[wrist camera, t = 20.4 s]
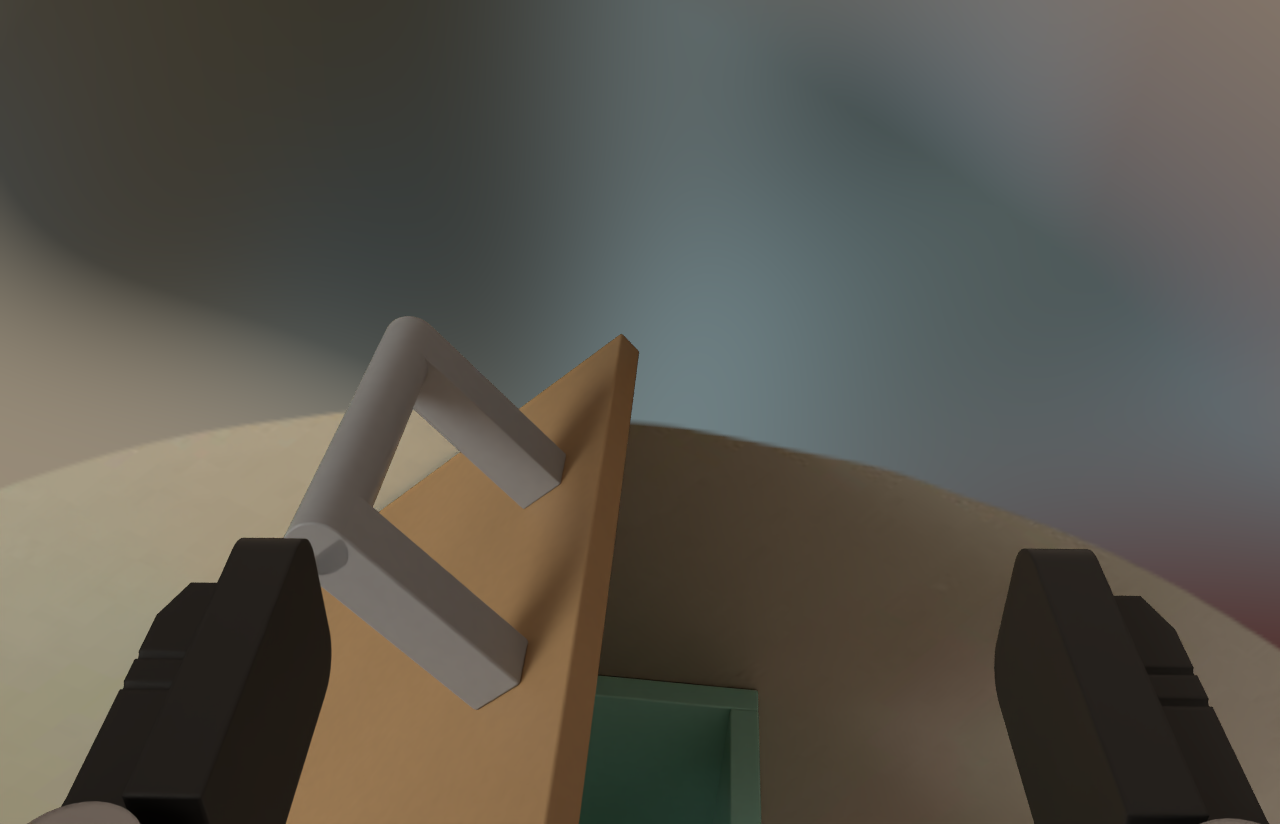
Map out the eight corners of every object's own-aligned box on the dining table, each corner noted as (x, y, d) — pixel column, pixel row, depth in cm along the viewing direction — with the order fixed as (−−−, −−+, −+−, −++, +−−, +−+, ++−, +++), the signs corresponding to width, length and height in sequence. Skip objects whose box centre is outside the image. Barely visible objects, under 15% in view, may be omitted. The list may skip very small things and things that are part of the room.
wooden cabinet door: (95, 522, 49) (-292, 1065, 30) (486, 191, 40) (276, 671, 22) (245, 636, 52) (-25, 1195, 33) (640, 351, 43) (571, 894, 25)
